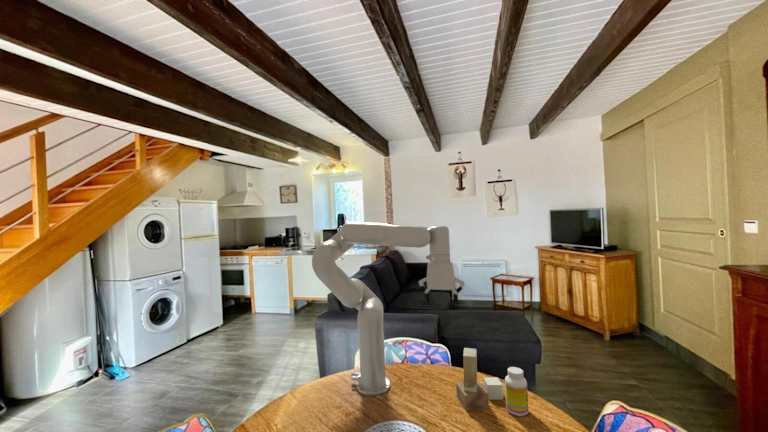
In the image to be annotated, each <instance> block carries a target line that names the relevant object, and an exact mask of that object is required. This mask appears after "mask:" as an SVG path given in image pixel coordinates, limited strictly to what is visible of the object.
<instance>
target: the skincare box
mask: <svg viewBox="0 0 768 432" xmlns="http://www.w3.org/2000/svg"><path fill="white" fill-rule="evenodd" d="M477 353H478V352H477V348H470V347H464V348H463V354H462V357H463V358H462V361H463V366H462V367H463V382H464V391H468V392H475V393H477V381H478V357H477Z"/></svg>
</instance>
